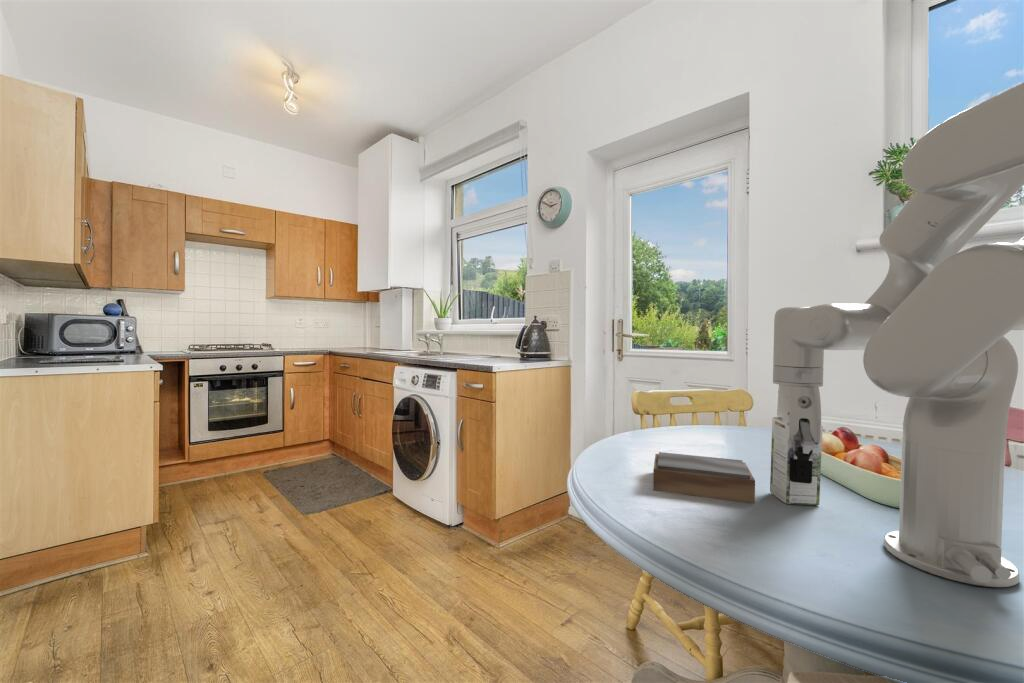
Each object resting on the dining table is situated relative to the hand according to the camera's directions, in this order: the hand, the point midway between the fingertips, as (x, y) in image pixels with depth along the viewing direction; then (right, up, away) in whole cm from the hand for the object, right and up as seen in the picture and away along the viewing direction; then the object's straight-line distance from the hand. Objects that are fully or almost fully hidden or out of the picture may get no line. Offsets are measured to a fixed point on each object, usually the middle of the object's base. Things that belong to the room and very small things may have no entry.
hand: (794, 474), depth 78 cm
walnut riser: (-14, -4, +6) cm, 16 cm away
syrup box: (0, -5, 0) cm, 5 cm away
